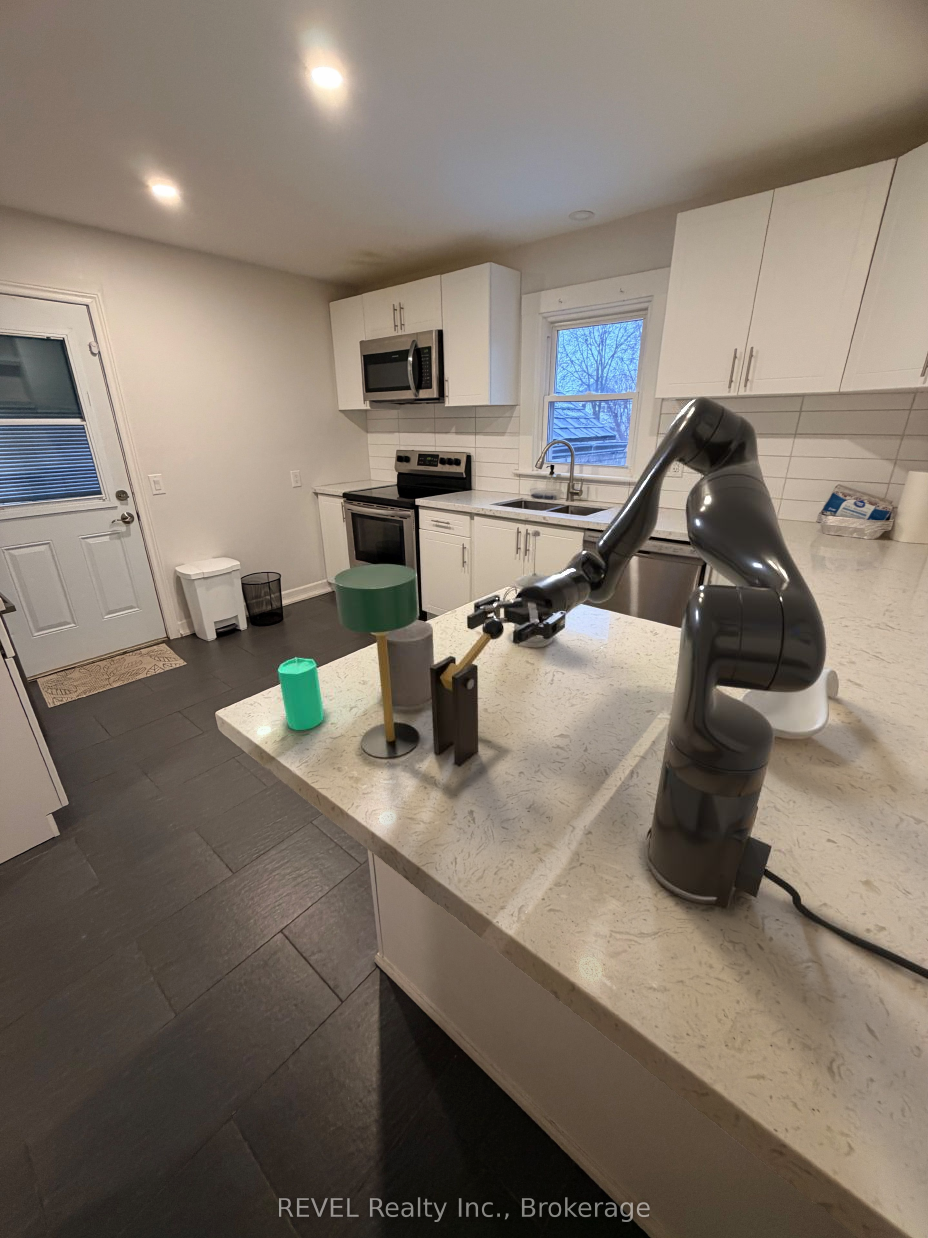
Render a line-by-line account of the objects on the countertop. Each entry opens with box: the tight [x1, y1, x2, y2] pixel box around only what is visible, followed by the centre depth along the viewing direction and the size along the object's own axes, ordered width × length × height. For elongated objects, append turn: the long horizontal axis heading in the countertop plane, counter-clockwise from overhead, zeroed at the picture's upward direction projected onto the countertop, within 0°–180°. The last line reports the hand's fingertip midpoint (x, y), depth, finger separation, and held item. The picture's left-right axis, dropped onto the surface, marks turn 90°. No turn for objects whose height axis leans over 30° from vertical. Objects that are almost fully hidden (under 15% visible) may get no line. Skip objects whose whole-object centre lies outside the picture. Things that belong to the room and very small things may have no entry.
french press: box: [502, 529, 554, 648], centre depth 109 cm, size 10×12×25 cm
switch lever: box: [440, 618, 505, 690], centre depth 71 cm, size 13×3×3 cm, turn 140°
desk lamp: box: [333, 563, 421, 760], centre depth 71 cm, size 15×11×28 cm
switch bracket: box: [430, 655, 479, 768], centre depth 71 cm, size 12×9×16 cm
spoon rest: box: [740, 667, 840, 740], centre depth 82 cm, size 24×12×7 cm, turn 128°
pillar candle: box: [386, 619, 435, 707], centre depth 87 cm, size 10×10×15 cm
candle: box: [277, 656, 325, 731], centre depth 82 cm, size 6×6×12 cm
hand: (491, 630), depth 73 cm, fingers open, 8 cm apart
